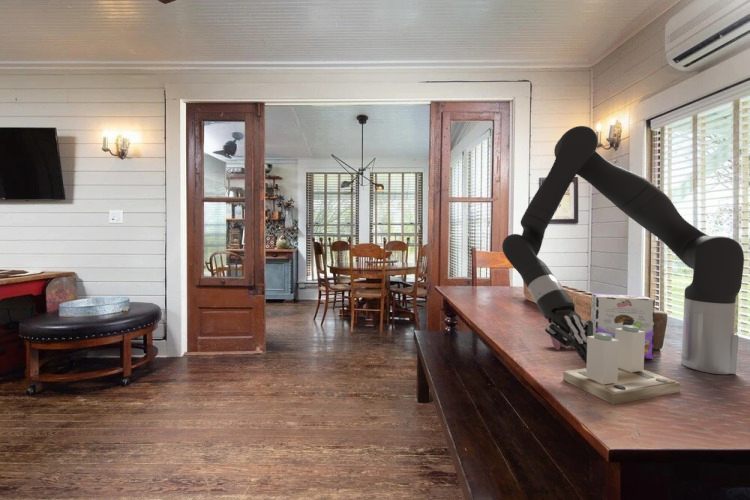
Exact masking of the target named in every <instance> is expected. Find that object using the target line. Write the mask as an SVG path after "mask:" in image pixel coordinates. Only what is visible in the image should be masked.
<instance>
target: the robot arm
mask: <svg viewBox="0 0 750 500" xmlns="http://www.w3.org/2000/svg"><path fill="white" fill-rule="evenodd" d="M598 143H599V137H598V134H597V133H596V131H595V130H594V129H593V128H591V127H590V126H586V125H578V126H574V127H572V128H569V129H568V130H567V131H566V132H565V133H563V134H562V136H561V137H560V138H559V140H558V141H557V142H556V144H555V146H554V150H553V151H554V156H555V157H554V158H555V159H554V162H553V164H552V166H551V168H550V169H549V172H548V173H547V175H546V177H545V178H544V180H543V182H542V183H541V185H540V186H539V188H538V190H537V191H536V192H535V194H534V195H533V197H532V199H531V200H530V203H529V204H528V206H527V208H526V209H525V212H524V214H523V215H522V217H521V219H520V225H521V227H522V234H518V233H512V234H509V235H507V236H506V237H505V238H504V239H503V241H502V244H501V245H502V246H501V248H502V252H503V255H504V257H505V258H506V259H507V261H508V262H509V263H510V264H511V265H512V267H513V268H514V269H515V270H516V271H517V272H518V274H519V275H520V277H521V278H522V280H523V282H524V284H525V286H526V287H527V290H529V293H530V296H531V297H532V299H533V301H534V303H535V304H536V305H537V308H538V309H539V311H540V312H541V314H542V315H543V317H544V319H545V320H547V322H548V323H549V324H548V325H547V327H545V329H544V331H545V332H546V334H548V335H549V336H550V335H551V336H552V337H554V338H555V339H556V340H558V341H559V342H561V343H562V344H563V345H565V346H566V348H567V347H571V348H572V347H573V348H572V349H574V350H575V351H576V352H577V354H578V356H579V357H580V359H581V360H582V361H583V362H584V363H585V364H587V337H588V336H593V322H592V321H591V319H590V320H587V321H586V320H584V319H582V318H581V316H580V314H578V312H577V311H576V309H575V307H576V306H575V303H574V302H573V300H572V298H571V297H570V296H569V294H568V293H567V291H566V290H565V288H564V287H563V286H562V284H561V283H560V282H559V280H558V279H557V278H556V277H555V276H554V274H553V273H552V271H551V269H550V268H549V267H548V266H547V264H546V262H544V261H543V260H541V259H540V258H539V256H538V255H539V253H540V251H541V247H542V245H543V242H544V241H543V240H544V237H545V232H546V229H547V228H548V226H549V224H550V223H551V221H552V219H553V217H554V215H555V214H556V212H557V210H558V208H559V206H560V204H561V202H562V200H563V198H564V196H565V194H566V193H567V191H568V188H569V187H570V185H571V184H572V182H573V180H574V179H575V177H576V176H579V177H580V178H582V180H584V181H586V182H587V183H589V184H590V185H592V187H594V189H595V190H597V191H598V192H599V193H601V195H603V196H604V197H605V198H606V199H607V200H609V201H610V202H611V203H612V204H613V205H615V207H616V208H618V209H619V210H620V211H622V212H623V213H624V214H625V215H627V216H628V218H630V219H632V221H635V222H636V223H637V224H638V225H640V226H641V227H642V228H643V229H645V230H646V231H648V232H649V233H651V234H652V235H654V236H655V237H657V238H658V239H659V240H660V241H661V242H662V243H663V244H665V245H666V247H667V248H668V249H670V250H671V251H672V253H674V254H675V256H676V257H678V259H679V260H680V261H681V262H683V264H684V265H685V266H686V267H688V268H690V269H691V270H693V276H692V277H693V278H692V281H691V282H690V284H689V285H688V286H686V287H685V289H684V295H683V296H684V299H683V300H684V301H683V319H682V321H683V322H682V337H681V338H682V341H681V356H680V357H681V358H680V359H681V361H680V362H681V364H682V365H683V366H685V367H687V368H689V369H692V370H696V371H699V372H703V373H707V374H715V375H737V373H738V371H737V369H738V368H737V367H738V355H739V354H738V350H739V349H738V348H739V334H736V333H735V318H736V317H735V315H736V301H737V300H736V299H737V296H738V294H739V293H740V290H741V289H742V288H741V287H742V283H743V275H744V274H743V273H744V265H745V253H744V251H743V247H742V246H741V244H740V243H739V242H737V241H736V240H735V239H733V238H731V237H727V236H723V235H722V236H718V235H708V234H706V233H705V232H702V231H701V230H700V229H698V228H697V227H695V226H693V225H692V224H691V223H690V222H689V221H687V220H686V219H685V218H684V217H683V216H682V215H681V214H680V213H679V211H678V210H677V207H676V206H675V205H674V203H673V202H672V199H670V198H669V197H668V195H667V194H666V193H665V192H664V191H663V190H662V189H660V188H659V187H658V186H657V185H655V184H654V183H652V182H651V181H649V179H647V178H646V177H643V176H642V175H640V174H638V173H635V172H634V171H632V170H631V171H630V170H628V169H626V168H623V167H620V166H618V165H616V164H614V163H612V162H611V161H609V160H607V159H606V158H605V157H603V156H602V155H601V154H600V153H599V152H597V148H598V146H599V144H598ZM562 337H564V339H563V338H562Z"/></svg>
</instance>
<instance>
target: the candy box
mask: <svg viewBox="0 0 750 500" xmlns="http://www.w3.org/2000/svg"><path fill="white" fill-rule="evenodd" d="M655 300H656V299H654V298H653V297H649V296H647V295H629V294H628V295H627V294H612V293H611V294H607V293H591V303H590V304H591V306H590V321H592V322H593V336H594V333H597V332H599V333H607V334H610V335H612V338H613V339H615V329H616V328H622V325H631V326H636V327H639V330H640V331H644V332H645V350H644V359H650V360H653V359H654V344H655V343H654V341H655V339H654V335H655V334H654V333H655V305H656V304H655V303H656V301H655Z"/></svg>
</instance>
